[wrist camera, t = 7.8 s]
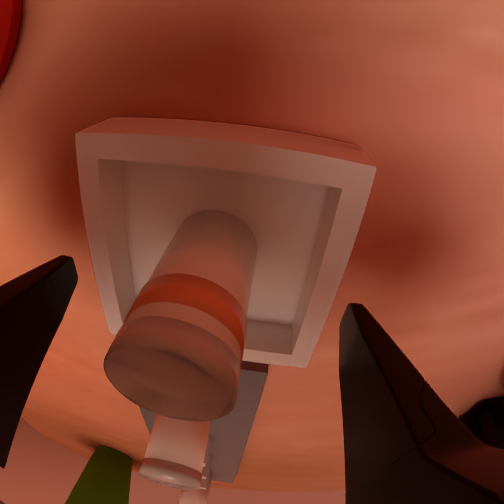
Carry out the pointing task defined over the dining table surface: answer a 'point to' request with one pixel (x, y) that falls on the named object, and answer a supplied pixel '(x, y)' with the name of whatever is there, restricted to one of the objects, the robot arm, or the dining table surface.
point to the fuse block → (229, 426)
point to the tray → (231, 201)
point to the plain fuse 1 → (176, 453)
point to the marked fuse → (189, 323)
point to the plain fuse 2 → (196, 495)
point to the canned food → (8, 31)
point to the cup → (103, 479)
